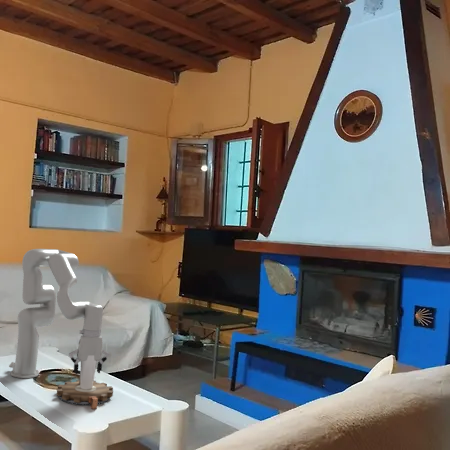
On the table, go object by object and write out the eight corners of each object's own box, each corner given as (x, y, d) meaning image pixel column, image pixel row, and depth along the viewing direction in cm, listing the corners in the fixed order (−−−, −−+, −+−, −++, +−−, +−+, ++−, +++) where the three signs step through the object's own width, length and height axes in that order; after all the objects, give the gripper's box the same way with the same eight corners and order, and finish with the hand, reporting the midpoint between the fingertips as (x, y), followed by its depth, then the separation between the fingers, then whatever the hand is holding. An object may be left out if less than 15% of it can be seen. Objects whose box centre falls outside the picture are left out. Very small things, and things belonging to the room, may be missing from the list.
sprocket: (52, 385, 230) (53, 370, 230) (104, 383, 242) (106, 368, 242) (62, 404, 210) (64, 387, 210) (119, 400, 221) (121, 384, 221)
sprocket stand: (47, 397, 219) (48, 388, 219) (79, 384, 240) (80, 376, 240) (94, 410, 211) (95, 400, 211) (123, 395, 231) (124, 386, 231)
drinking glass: (89, 391, 222) (93, 356, 222) (75, 388, 223) (78, 354, 223) (96, 387, 228) (100, 353, 228) (82, 384, 230) (86, 350, 230)
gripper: (72, 335, 219) (68, 375, 218) (113, 335, 226) (109, 374, 226) (69, 331, 225) (65, 370, 225) (109, 331, 233) (105, 369, 233)
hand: (87, 372), depth 226 cm, fingers open, 9 cm apart
